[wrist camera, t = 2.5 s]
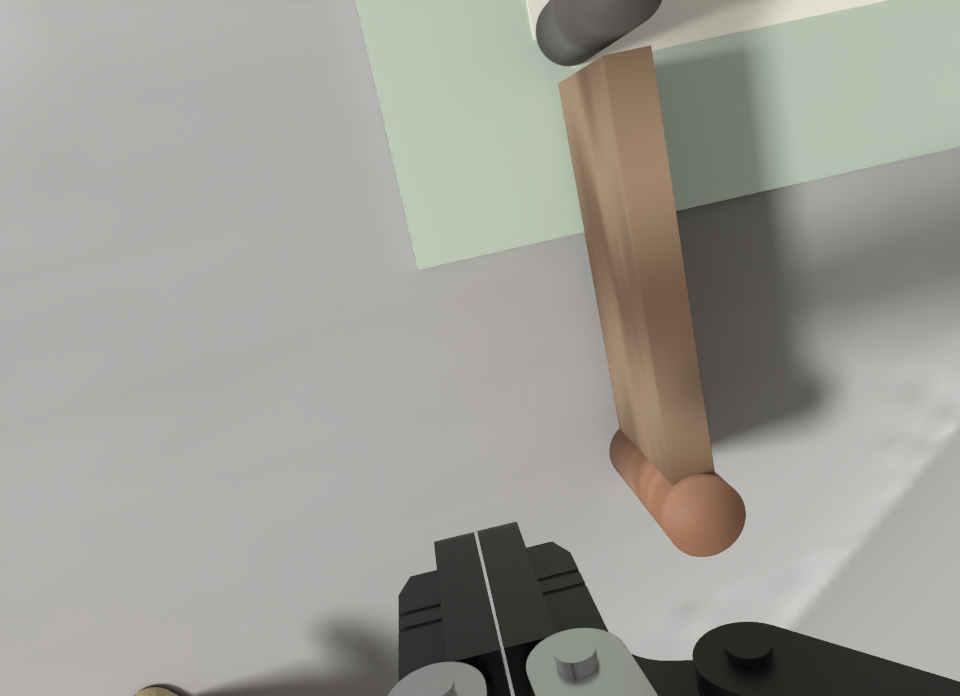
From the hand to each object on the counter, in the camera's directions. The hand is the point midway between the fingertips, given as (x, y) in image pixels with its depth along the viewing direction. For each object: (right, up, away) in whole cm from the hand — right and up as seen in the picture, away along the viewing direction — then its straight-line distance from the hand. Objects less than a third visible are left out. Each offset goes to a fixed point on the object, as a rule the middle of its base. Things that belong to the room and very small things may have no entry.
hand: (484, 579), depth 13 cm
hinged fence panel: (+4, +7, +11) cm, 13 cm away
